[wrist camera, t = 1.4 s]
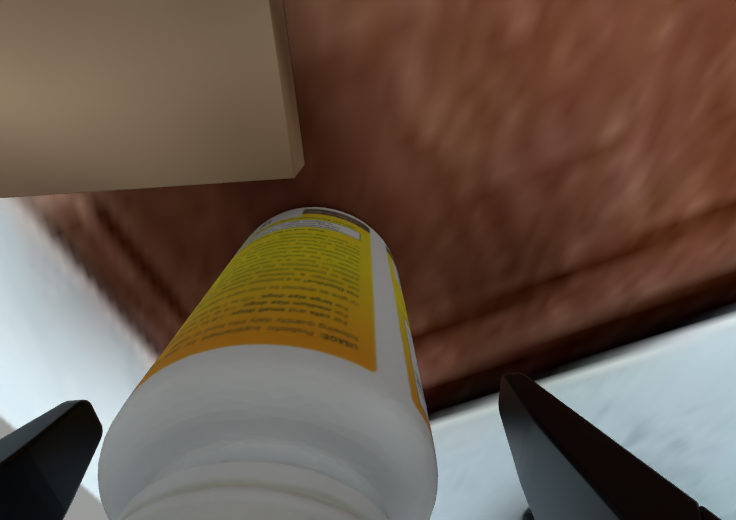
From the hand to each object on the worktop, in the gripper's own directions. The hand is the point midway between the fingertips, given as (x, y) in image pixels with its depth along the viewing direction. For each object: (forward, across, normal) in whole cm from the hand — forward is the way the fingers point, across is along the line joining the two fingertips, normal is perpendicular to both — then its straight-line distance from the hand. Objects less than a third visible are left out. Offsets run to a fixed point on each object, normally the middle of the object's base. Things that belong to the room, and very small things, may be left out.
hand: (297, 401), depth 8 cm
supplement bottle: (+6, 0, 0) cm, 6 cm away
